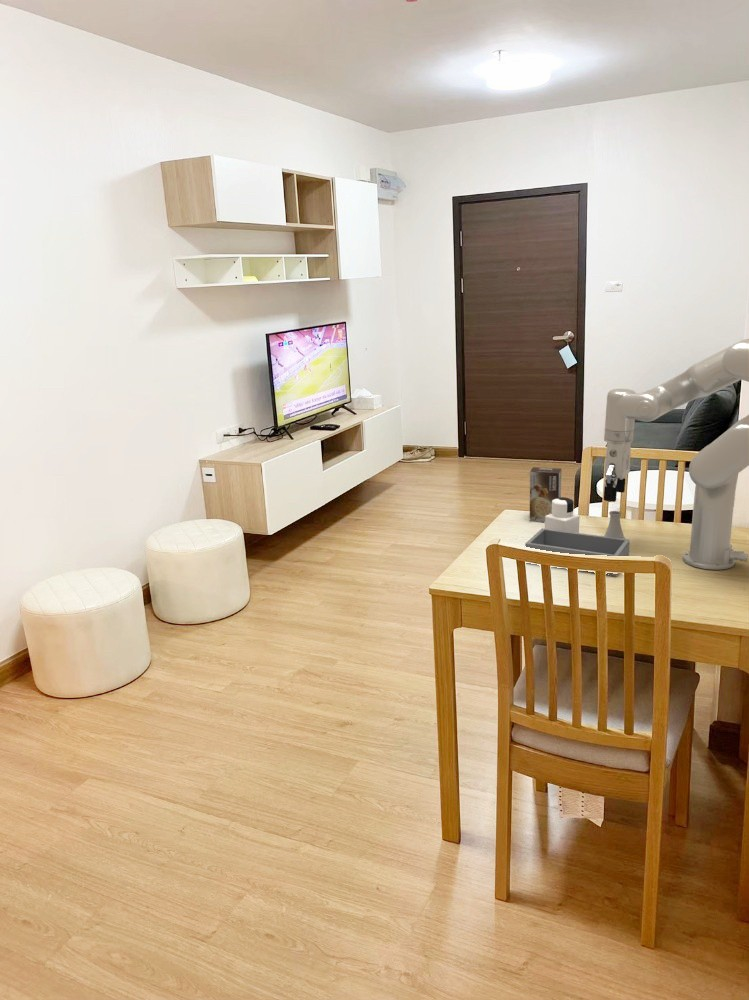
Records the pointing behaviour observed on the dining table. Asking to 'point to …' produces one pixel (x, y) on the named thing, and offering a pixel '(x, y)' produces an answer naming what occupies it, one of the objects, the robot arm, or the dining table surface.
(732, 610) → the dining table surface
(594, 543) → the box
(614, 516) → the flask
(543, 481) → the coffee box
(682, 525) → the dining table surface
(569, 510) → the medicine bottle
